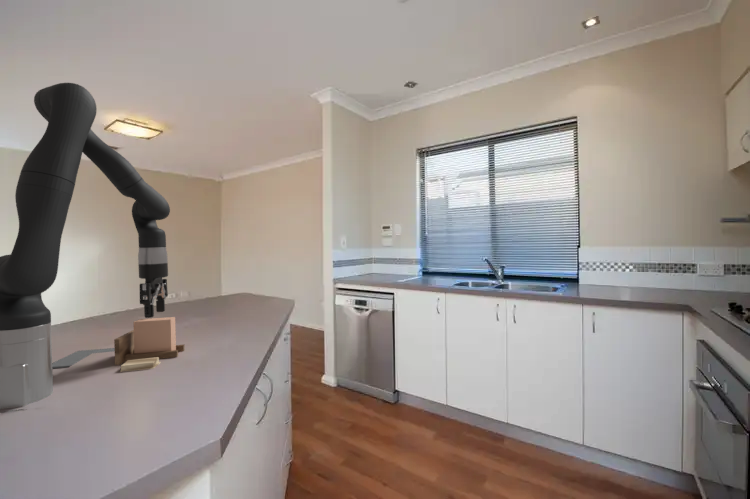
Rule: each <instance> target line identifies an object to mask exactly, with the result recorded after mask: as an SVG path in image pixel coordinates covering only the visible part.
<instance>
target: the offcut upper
mask: <svg viewBox="0 0 750 499" xmlns="http://www.w3.org/2000/svg"><path fill="white" fill-rule="evenodd" d="M159 362H160V359H159V357H154V358H145V359H135V360H128V361H126V362H123V363H122V364H120V371H125V372H130V371H129V370H136V371H139V370H138V369H146V370H148V369H147V368H154V367H155V366H156V365H157V364H158V363H159ZM157 366H158V365H157ZM157 366H156V367H157ZM156 367H155V368H156ZM155 368H154V369H155Z"/></svg>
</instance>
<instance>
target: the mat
mask: <svg viewBox="0 0 750 499" xmlns="http://www.w3.org/2000/svg"><path fill="white" fill-rule="evenodd" d="M111 352H115V347H110V348H108V347H107V348H98V349H97V348H95V349H85V350H84V349H82V350H77V351H75V352H72V353H71V354H68V355H66V356H64V357H62V358H59V359H58V360H56V361H54V362H53V361H52V370H53V369H62V368H63V369H65V368H70V367H71V366H73V365H75V364H77V363H78V362H80V361H82V360H83V359H85V358H87V357H89V356H90V355H92V354H100V353H111Z"/></svg>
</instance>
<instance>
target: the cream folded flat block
mask: <svg viewBox="0 0 750 499" xmlns="http://www.w3.org/2000/svg"><path fill="white" fill-rule="evenodd" d="M160 364H161V361H159V363H158V364H157V365H156V366H155V367H154V368H147V369H138V370H129V371H128V372H134V371H144V370H146V371H147V370H154V369H155V368H156V367H157V366H159V365H160ZM119 372H120V373H121V372H122V373H123V372H126V371H121V370H120V371H119Z"/></svg>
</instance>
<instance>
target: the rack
mask: <svg viewBox="0 0 750 499" xmlns="http://www.w3.org/2000/svg"><path fill="white" fill-rule="evenodd" d="M113 343H114V347H113V348H115V351H114V366H119V365H120V366H121V365H123V364H124V363H125V362H126V361H128V360H135V359H145V358H154V357H159V360H160V359H172V358H175V359H176V358H178V357H179V352H185V344H176V350H172V351H160V352H148V353H136V354H134V329H133V330H131V331H129V332H126V333H124V334H123V335H121V336H119V337H117V338H114V342H113Z"/></svg>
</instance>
